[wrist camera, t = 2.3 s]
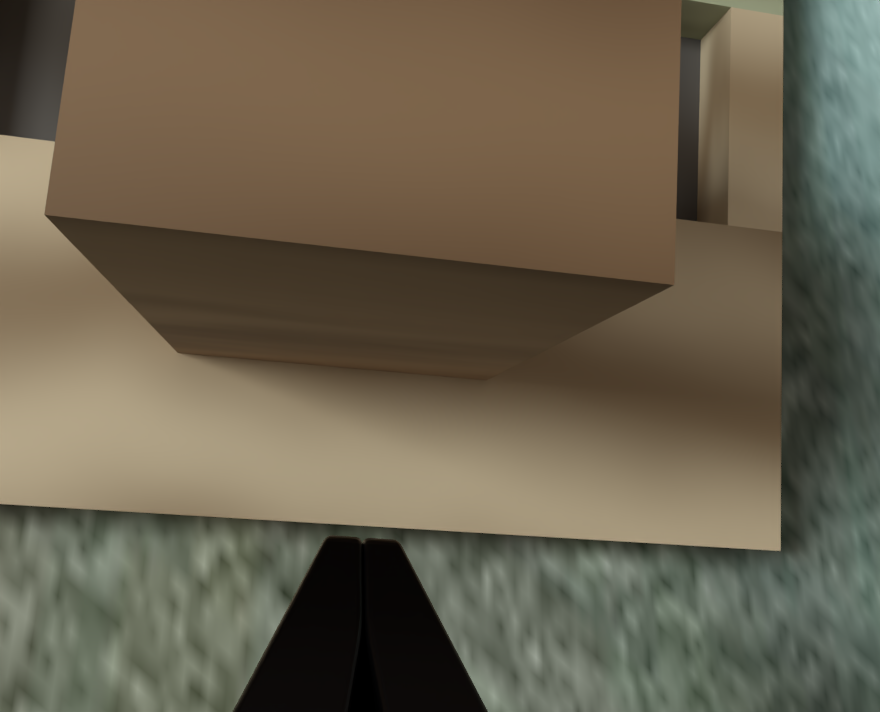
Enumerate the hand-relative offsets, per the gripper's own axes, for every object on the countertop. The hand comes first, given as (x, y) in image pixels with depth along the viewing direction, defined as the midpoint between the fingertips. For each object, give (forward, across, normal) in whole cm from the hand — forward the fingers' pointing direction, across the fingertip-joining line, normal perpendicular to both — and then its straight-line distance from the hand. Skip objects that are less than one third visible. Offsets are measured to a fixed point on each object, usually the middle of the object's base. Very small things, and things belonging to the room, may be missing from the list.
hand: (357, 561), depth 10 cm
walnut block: (+11, 0, +1) cm, 11 cm away
